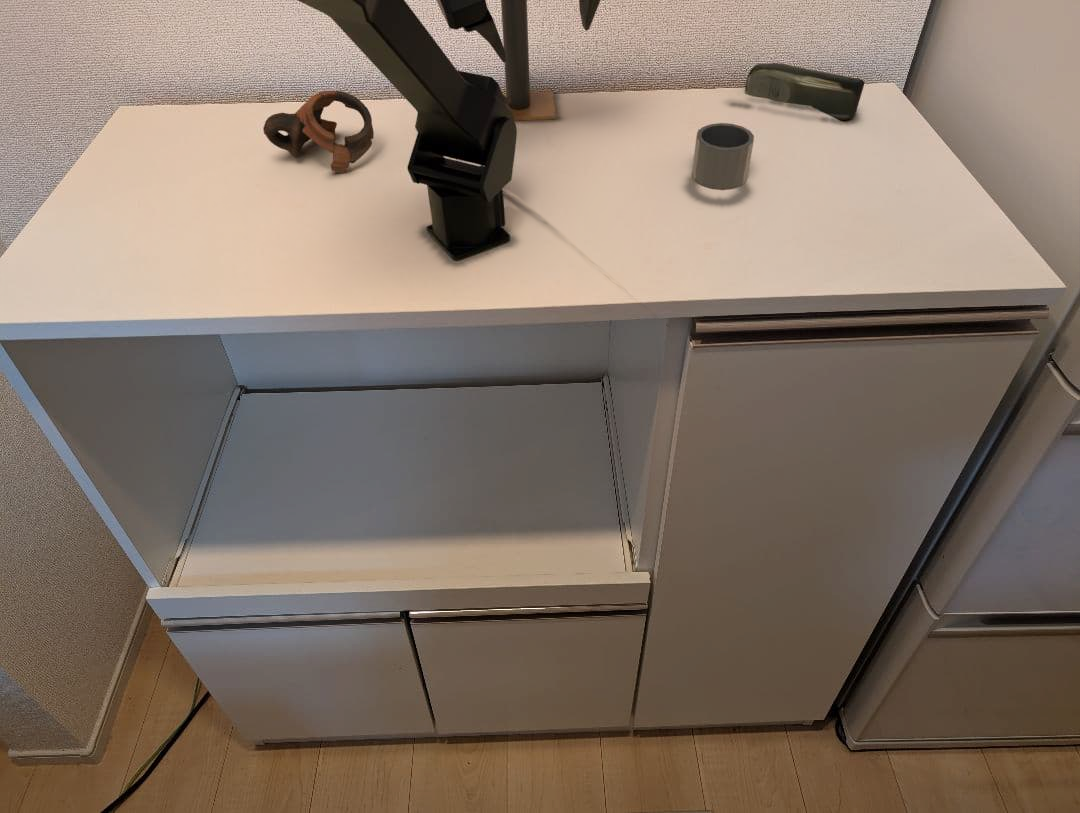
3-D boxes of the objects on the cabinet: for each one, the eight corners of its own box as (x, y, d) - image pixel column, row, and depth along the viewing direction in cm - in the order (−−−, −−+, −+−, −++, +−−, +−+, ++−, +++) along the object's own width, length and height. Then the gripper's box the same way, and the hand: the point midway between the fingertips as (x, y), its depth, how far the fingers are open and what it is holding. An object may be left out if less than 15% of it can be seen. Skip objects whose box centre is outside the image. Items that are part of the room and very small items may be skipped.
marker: (532, 109, 100) (528, -20, 89) (506, 111, 100) (499, -18, 89) (530, 98, 102) (525, -29, 92) (505, 100, 102) (498, -28, 92)
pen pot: (714, 208, 84) (722, 155, 80) (679, 184, 87) (685, 132, 83) (756, 191, 86) (765, 139, 82) (720, 169, 89) (727, 118, 85)
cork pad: (483, 122, 99) (483, 118, 99) (483, 97, 104) (483, 94, 104) (555, 118, 99) (555, 115, 99) (552, 94, 104) (552, 91, 104)
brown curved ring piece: (355, 131, 99) (368, 82, 92) (373, 194, 96) (388, 149, 89) (254, 128, 93) (260, 77, 87) (270, 196, 91) (278, 148, 84)
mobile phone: (867, 74, 95) (741, 55, 99) (864, 85, 93) (736, 65, 97) (855, 114, 98) (734, 94, 102) (852, 125, 96) (729, 104, 100)
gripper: (582, -189, 74) (599, -30, 87) (394, -117, 73) (440, 31, 87) (629, -131, 68) (639, 28, 82) (425, -53, 68) (470, 94, 81)
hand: (544, 43), depth 83 cm, fingers open, 9 cm apart
